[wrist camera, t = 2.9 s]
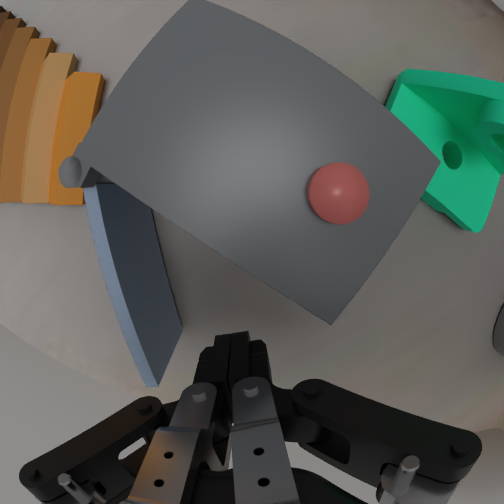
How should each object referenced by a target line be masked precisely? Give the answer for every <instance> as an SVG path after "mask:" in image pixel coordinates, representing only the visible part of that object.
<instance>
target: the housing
mask: <svg viewBox="0 0 504 504" xmlns="http://www.w3.org/2000/svg"><path fill="white" fill-rule="evenodd" d="M440 163H441V161H440V160H439V159H438V158H437V157H436V156H435V154H434V153H433V152H432V151H431V150H430V149H429V148H428V147H427V146H426V145H425V144H424V143H423V142H422V141H421V140H420V139H419V138H418V137H417V136H416V135H415V134H414V133H413V132H412V131H411V130H410V129H409V128H408V127H407V126H406V125H405V124H404V123H403V122H402V121H400V120H399V119H398V118H397V117H396V116H395V115H394V114H393V113H392V112H390V111H389V110H388V109H387V108H386V107H385V106H384V105H382V104H381V103H380V102H379V101H378V100H376V99H375V98H374V97H373V96H372V95H370V94H369V93H368V92H367V91H365V90H364V89H363V88H361V87H360V86H359V85H358V84H356V83H355V82H354V81H352V80H351V79H350V78H348V77H347V76H345V75H344V74H343V73H341V72H340V71H338V70H337V69H336V68H334V67H333V66H331V65H330V64H328V63H327V62H325V61H324V60H322V59H321V58H319V57H318V56H316V55H315V54H313V53H311V52H310V51H308V50H307V49H305V48H303V47H302V46H300V45H298V44H297V43H295V42H293V41H291V40H290V39H288V38H286V37H284V36H283V35H281V34H279V33H277V32H275V31H273V30H271V29H269V28H267V27H266V26H264V25H262V24H260V23H257V22H255V21H253V20H251V19H249V18H247V17H245V16H243V15H240V14H238V13H236V12H233V11H231V10H229V9H226V8H224V7H221V6H219V5H216V4H214V3H211V2H209V1H206V0H188V1H187V2H186V3H185V4H184V5H183V6H182V7H181V8H180V9H179V10H178V11H177V12H176V13H175V14H174V15H173V16H172V17H171V19H170V20H169V21H168V22H167V23H166V24H165V25H164V26H163V27H162V28H161V29H160V30H159V32H158V33H157V34H156V35H155V36H154V37H153V38H152V40H151V41H150V42H149V43H148V44H147V46H146V47H145V48H144V49H143V50H142V52H141V53H140V54H139V55H138V57H137V58H136V59H135V61H134V62H133V63H132V64H131V66H130V67H129V68H128V70H127V71H126V73H125V74H124V75H123V77H122V78H121V79H120V81H119V82H118V84H117V85H116V87H115V88H114V90H113V91H112V93H111V94H110V96H109V97H108V99H107V100H106V102H105V103H104V105H103V106H102V108H101V110H100V111H99V113H98V114H97V116H96V118H95V119H94V121H93V123H92V125H91V126H90V128H89V130H88V132H87V133H86V135H85V137H84V139H83V141H82V142H81V143H79V144H78V146H77V147H76V149H75V151H74V153H73V155H72V156H70V157H67V158H66V159H64V160H63V162H62V163H61V165H60V168H59V180H60V182H61V184H62V185H63V186H64V187H66V188H78V187H80V188H89V187H94V186H95V184H96V182H97V180H98V178H99V176H100V174H103V175H104V176H105V177H107V178H108V179H110V180H111V181H113V182H114V183H115V184H117V185H118V186H120V187H121V188H123V189H124V190H126V191H127V192H129V193H130V194H131V195H133V196H134V197H136V198H137V199H139V200H140V201H142V202H143V203H145V204H146V205H147V206H149V207H150V208H152V209H153V210H155V211H156V212H158V213H159V214H161V215H162V216H164V217H165V218H167V219H168V220H170V221H171V222H173V223H174V224H176V225H177V226H179V227H180V228H182V229H183V230H184V231H186V232H187V233H189V234H190V235H192V236H193V237H195V238H196V239H198V240H199V241H201V242H202V243H204V244H205V245H207V246H209V247H210V248H212V249H213V250H215V251H216V252H218V253H219V254H221V255H222V256H224V257H225V258H227V259H228V260H230V261H231V262H233V263H234V264H236V265H237V266H239V267H240V268H242V269H244V270H245V271H247V272H248V273H250V274H251V275H253V276H254V277H256V278H257V279H259V280H260V281H262V282H264V283H265V284H267V285H268V286H270V287H271V288H273V289H274V290H276V291H278V292H279V293H281V294H282V295H284V296H285V297H287V298H288V299H290V300H292V301H293V302H295V303H296V304H298V305H299V306H301V307H303V308H304V309H306V310H307V311H309V312H310V313H312V314H314V315H315V316H317V317H318V318H320V319H322V320H323V321H325V322H326V323H328V324H330V325H332V323H333V322H334V321H335V320H336V319H337V317H338V316H339V315H340V314H341V312H342V311H343V310H344V309H345V307H346V306H347V305H348V303H349V302H350V301H351V300H352V298H353V297H354V296H355V294H356V293H357V292H358V290H359V289H360V288H361V286H362V285H363V284H364V282H365V281H366V280H367V278H368V277H369V276H370V274H371V273H372V271H373V270H374V269H375V267H376V266H377V264H378V263H379V262H380V260H381V259H382V257H383V256H384V254H385V253H386V252H387V250H388V249H389V247H390V246H391V244H392V243H393V241H394V240H395V238H396V237H397V235H398V234H399V232H400V231H401V229H402V227H403V226H404V224H405V223H406V221H407V220H408V218H409V216H410V215H411V213H412V212H413V210H414V208H415V207H416V205H417V203H418V202H419V200H420V198H421V197H422V195H423V193H424V192H425V190H426V188H427V186H428V185H429V183H430V181H431V179H432V178H433V176H434V174H435V172H436V170H437V168H438V167H439V165H440Z"/></svg>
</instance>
